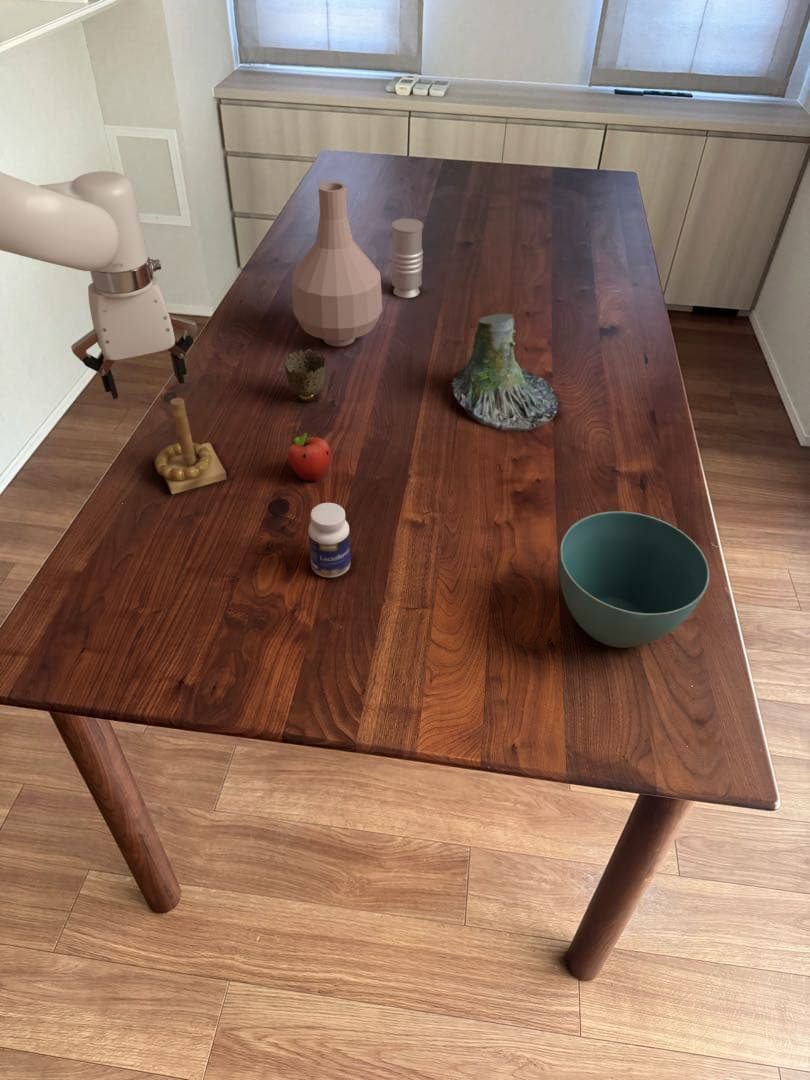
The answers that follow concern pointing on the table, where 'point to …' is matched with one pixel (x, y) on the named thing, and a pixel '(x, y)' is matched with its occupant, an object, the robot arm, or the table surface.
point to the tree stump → (502, 381)
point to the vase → (336, 278)
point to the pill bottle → (329, 540)
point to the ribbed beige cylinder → (407, 257)
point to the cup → (305, 374)
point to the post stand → (190, 455)
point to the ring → (186, 472)
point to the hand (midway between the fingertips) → (147, 386)
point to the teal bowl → (630, 577)
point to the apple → (309, 457)
